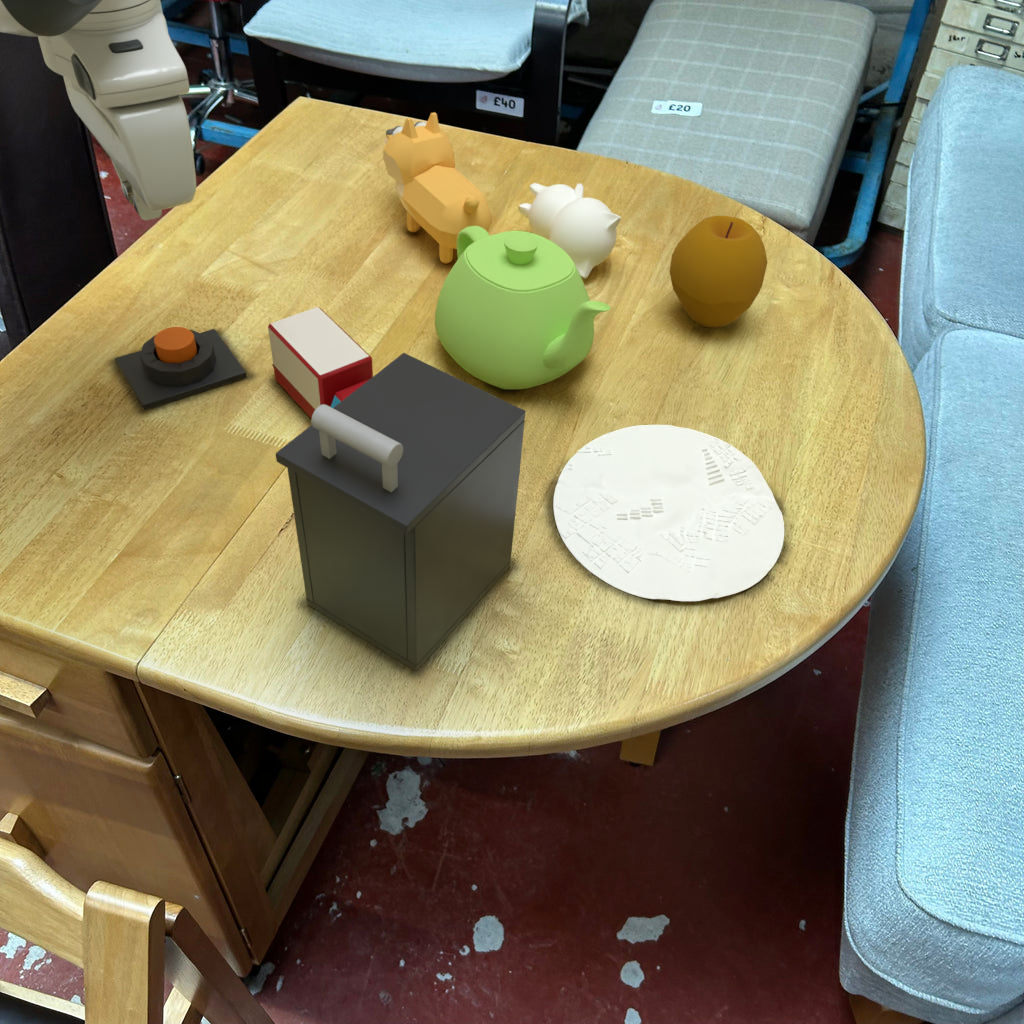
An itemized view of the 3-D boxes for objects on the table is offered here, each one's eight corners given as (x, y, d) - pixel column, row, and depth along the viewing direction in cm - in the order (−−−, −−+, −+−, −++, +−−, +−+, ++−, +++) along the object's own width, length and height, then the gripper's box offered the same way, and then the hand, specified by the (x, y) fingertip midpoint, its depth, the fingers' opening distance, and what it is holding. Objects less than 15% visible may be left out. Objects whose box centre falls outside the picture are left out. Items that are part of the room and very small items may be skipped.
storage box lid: (406, 534, 58) (405, 481, 55) (276, 462, 62) (267, 407, 58) (525, 419, 66) (530, 366, 63) (403, 360, 70) (402, 308, 66)
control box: (144, 410, 88) (138, 389, 86) (115, 363, 92) (109, 342, 90) (247, 377, 92) (243, 356, 90) (215, 333, 96) (211, 313, 94)
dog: (421, 189, 119) (421, 84, 110) (508, 268, 108) (515, 159, 99) (364, 203, 116) (359, 96, 106) (448, 286, 105) (450, 175, 95)
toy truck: (356, 470, 84) (352, 412, 79) (274, 380, 92) (266, 322, 87) (408, 446, 87) (407, 389, 82) (324, 361, 94) (318, 304, 90)
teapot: (646, 394, 94) (671, 280, 85) (526, 450, 87) (539, 333, 78) (512, 286, 106) (520, 175, 96) (397, 329, 99) (394, 213, 89)
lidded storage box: (416, 672, 70) (414, 527, 59) (306, 604, 74) (284, 455, 62) (510, 566, 78) (525, 419, 66) (406, 510, 81) (403, 361, 70)
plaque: (658, 404, 92) (660, 393, 91) (828, 525, 83) (833, 513, 82) (505, 506, 83) (505, 494, 82) (678, 654, 74) (681, 643, 73)
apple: (643, 315, 103) (662, 217, 95) (695, 283, 109) (718, 186, 100) (716, 357, 99) (743, 257, 91) (767, 321, 104) (797, 224, 96)
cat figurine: (537, 156, 107) (603, 201, 100) (594, 187, 115) (659, 230, 108) (499, 227, 110) (561, 275, 103) (558, 252, 118) (618, 298, 111)
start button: (165, 369, 89) (161, 353, 87) (152, 348, 91) (148, 333, 89) (202, 357, 90) (199, 342, 89) (188, 337, 92) (185, 322, 91)
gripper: (19, -8, 74) (67, 162, 84) (103, 95, 63) (147, 277, 73) (101, -19, 76) (138, 147, 87) (196, 78, 65) (226, 256, 75)
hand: (143, 207), depth 80 cm, fingers closed
